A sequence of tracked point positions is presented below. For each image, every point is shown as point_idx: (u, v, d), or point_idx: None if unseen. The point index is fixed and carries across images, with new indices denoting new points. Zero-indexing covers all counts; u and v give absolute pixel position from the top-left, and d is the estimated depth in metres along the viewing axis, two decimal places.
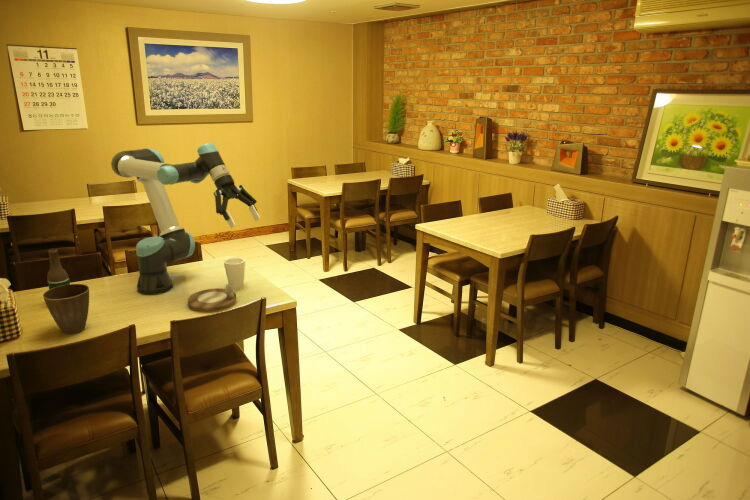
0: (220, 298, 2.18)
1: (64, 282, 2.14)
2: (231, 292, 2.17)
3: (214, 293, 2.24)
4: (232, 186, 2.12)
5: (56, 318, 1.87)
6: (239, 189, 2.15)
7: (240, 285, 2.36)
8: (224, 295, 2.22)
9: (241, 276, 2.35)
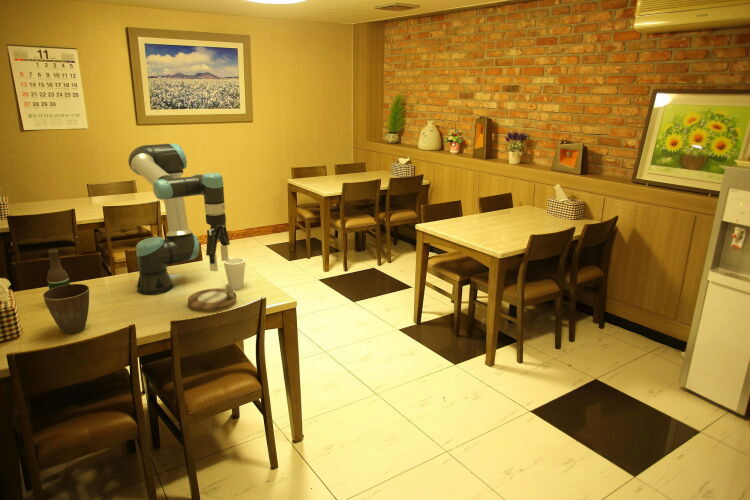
0: (220, 298, 2.18)
1: (64, 282, 2.14)
2: (231, 292, 2.17)
3: (214, 293, 2.24)
4: (220, 223, 2.03)
5: (56, 318, 1.87)
6: None
7: (240, 285, 2.36)
8: (224, 295, 2.22)
9: (241, 276, 2.35)
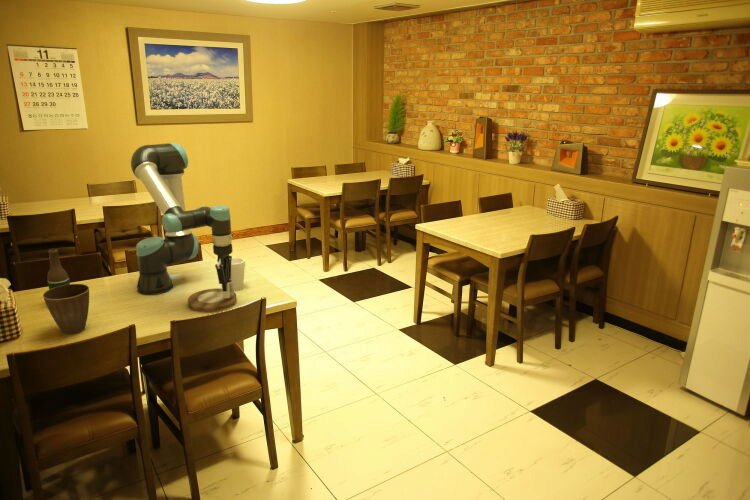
0: (220, 298, 2.19)
1: (64, 282, 2.14)
2: (232, 291, 2.18)
3: (213, 293, 2.24)
4: None
5: (56, 318, 1.87)
6: None
7: (240, 285, 2.36)
8: None
9: (241, 276, 2.35)
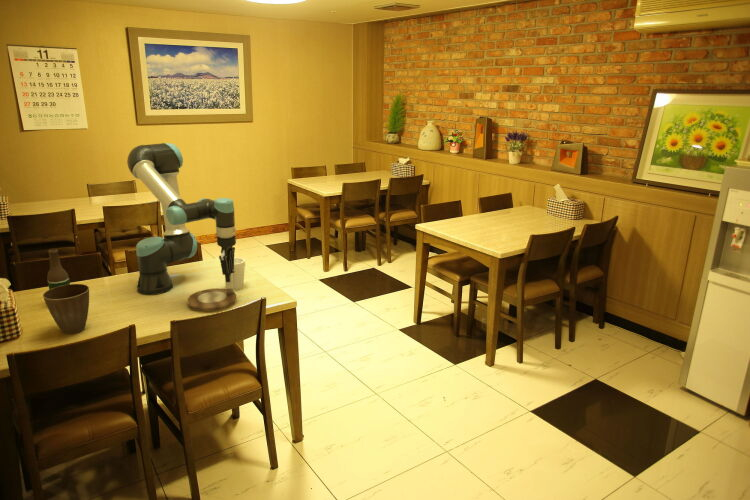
0: (222, 295, 2.21)
1: (64, 282, 2.14)
2: (233, 287, 2.23)
3: (207, 294, 2.23)
4: None
5: (56, 318, 1.87)
6: None
7: (240, 285, 2.36)
8: (221, 293, 2.24)
9: (241, 276, 2.35)
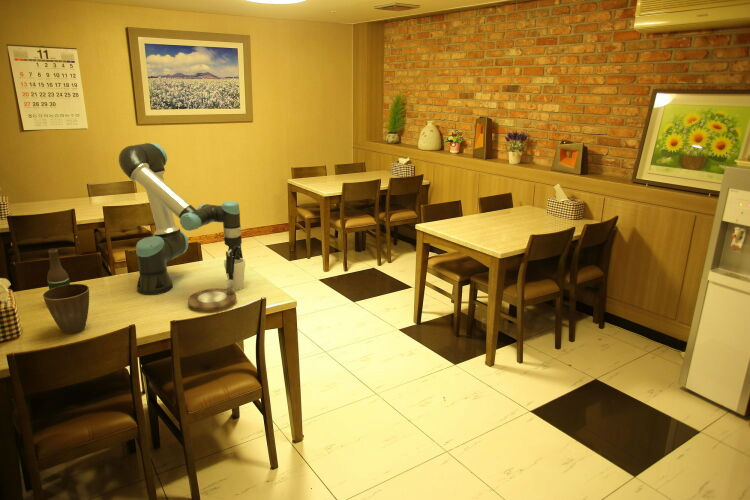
0: (222, 295, 2.21)
1: (64, 282, 2.14)
2: (233, 287, 2.23)
3: (207, 294, 2.23)
4: None
5: (56, 318, 1.87)
6: None
7: (240, 285, 2.36)
8: (221, 293, 2.24)
9: (241, 276, 2.35)
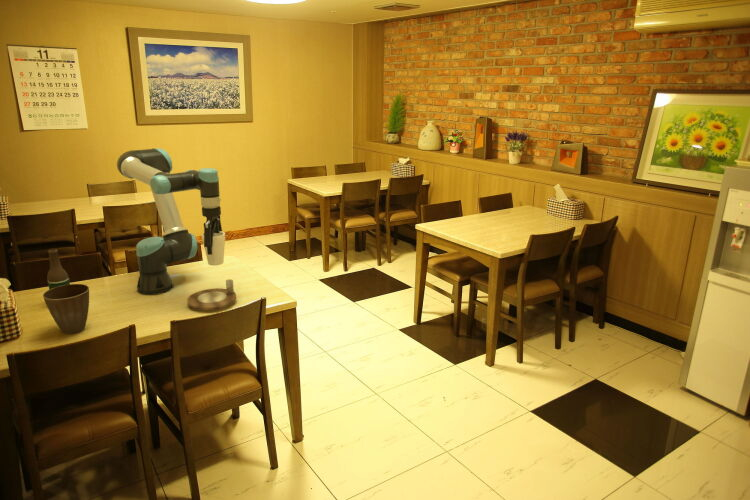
0: (222, 295, 2.21)
1: (64, 282, 2.14)
2: (233, 287, 2.23)
3: (207, 294, 2.23)
4: None
5: (56, 318, 1.87)
6: (217, 219, 2.19)
7: (220, 260, 2.17)
8: (221, 293, 2.24)
9: (221, 250, 2.16)
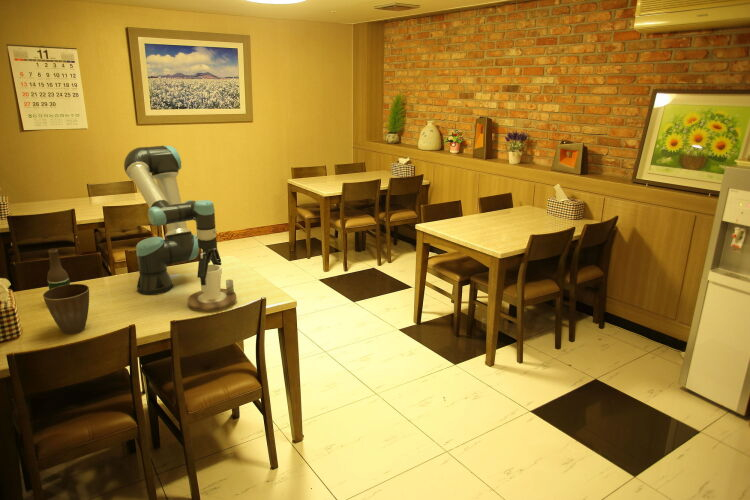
0: (222, 295, 2.21)
1: (64, 282, 2.14)
2: (233, 287, 2.23)
3: None
4: (212, 247, 2.15)
5: (56, 318, 1.87)
6: (213, 248, 2.19)
7: (216, 294, 2.17)
8: (221, 293, 2.24)
9: (217, 285, 2.16)
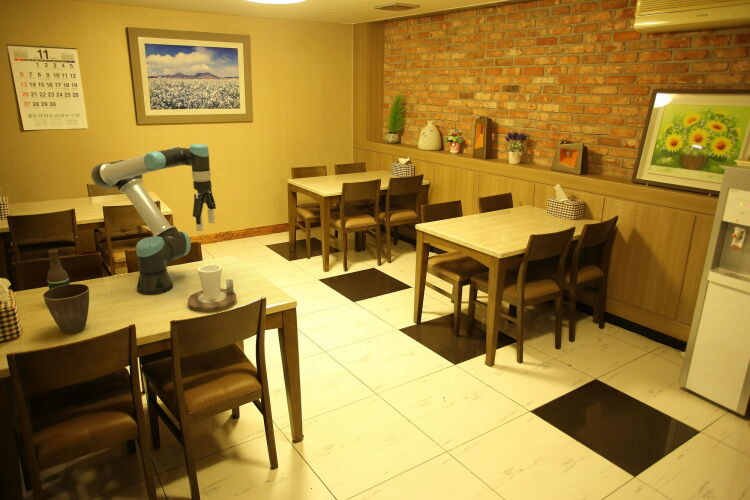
0: (222, 295, 2.21)
1: (64, 282, 2.14)
2: (233, 287, 2.23)
3: None
4: (207, 190, 2.27)
5: (56, 318, 1.87)
6: None
7: (216, 294, 2.17)
8: (221, 293, 2.24)
9: (217, 285, 2.16)
